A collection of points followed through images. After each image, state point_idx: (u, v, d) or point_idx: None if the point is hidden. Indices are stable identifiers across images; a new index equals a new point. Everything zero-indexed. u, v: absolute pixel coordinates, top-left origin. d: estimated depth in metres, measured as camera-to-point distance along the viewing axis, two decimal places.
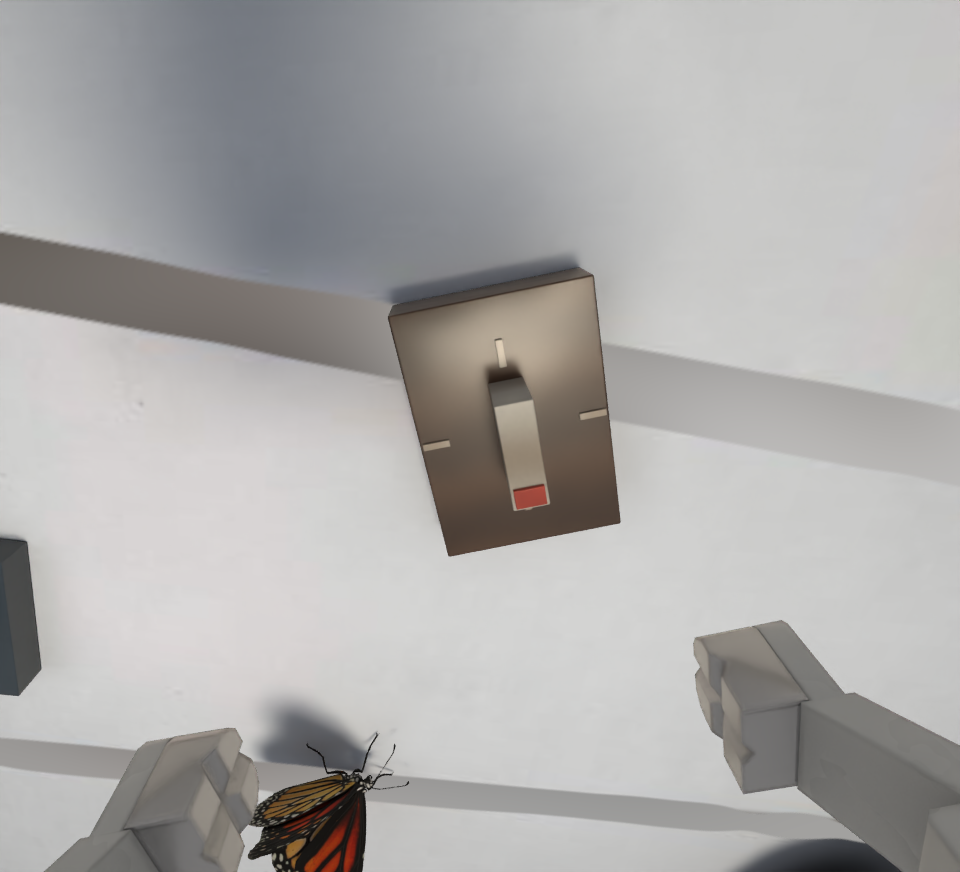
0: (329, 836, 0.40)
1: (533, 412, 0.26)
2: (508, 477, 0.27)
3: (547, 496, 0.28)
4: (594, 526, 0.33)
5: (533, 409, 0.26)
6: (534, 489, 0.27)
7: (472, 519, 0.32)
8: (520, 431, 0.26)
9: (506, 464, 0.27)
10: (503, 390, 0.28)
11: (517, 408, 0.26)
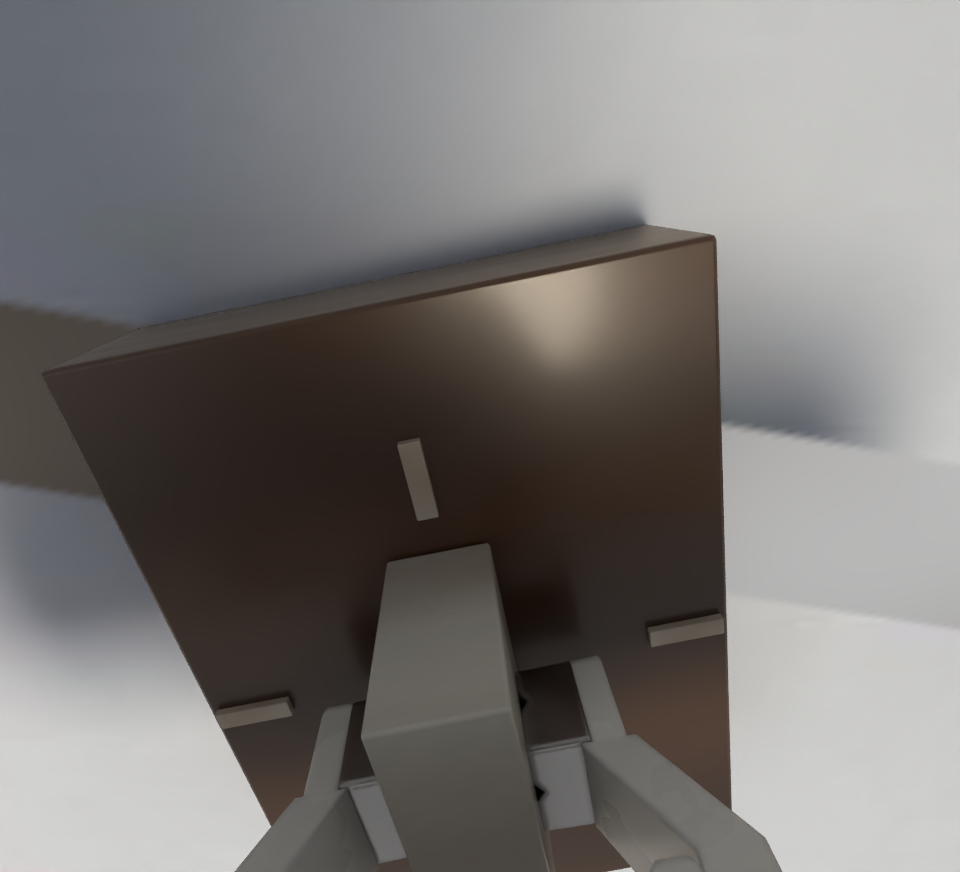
0: None
1: (513, 747, 0.07)
2: None
3: None
4: None
5: (513, 739, 0.07)
6: None
7: None
8: (467, 802, 0.07)
9: None
10: (419, 613, 0.08)
11: (451, 739, 0.07)
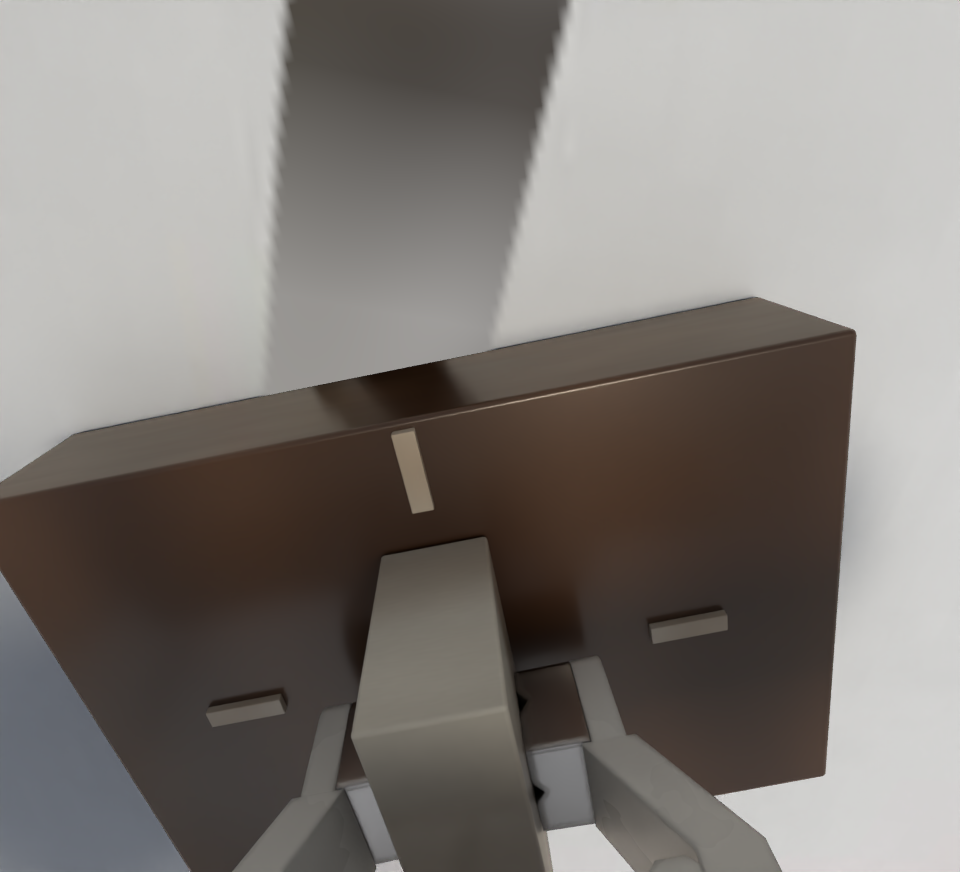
0: None
1: (509, 747, 0.07)
2: None
3: None
4: (843, 423, 0.09)
5: (509, 739, 0.07)
6: None
7: (727, 737, 0.12)
8: (461, 803, 0.07)
9: None
10: (413, 608, 0.08)
11: (444, 739, 0.07)
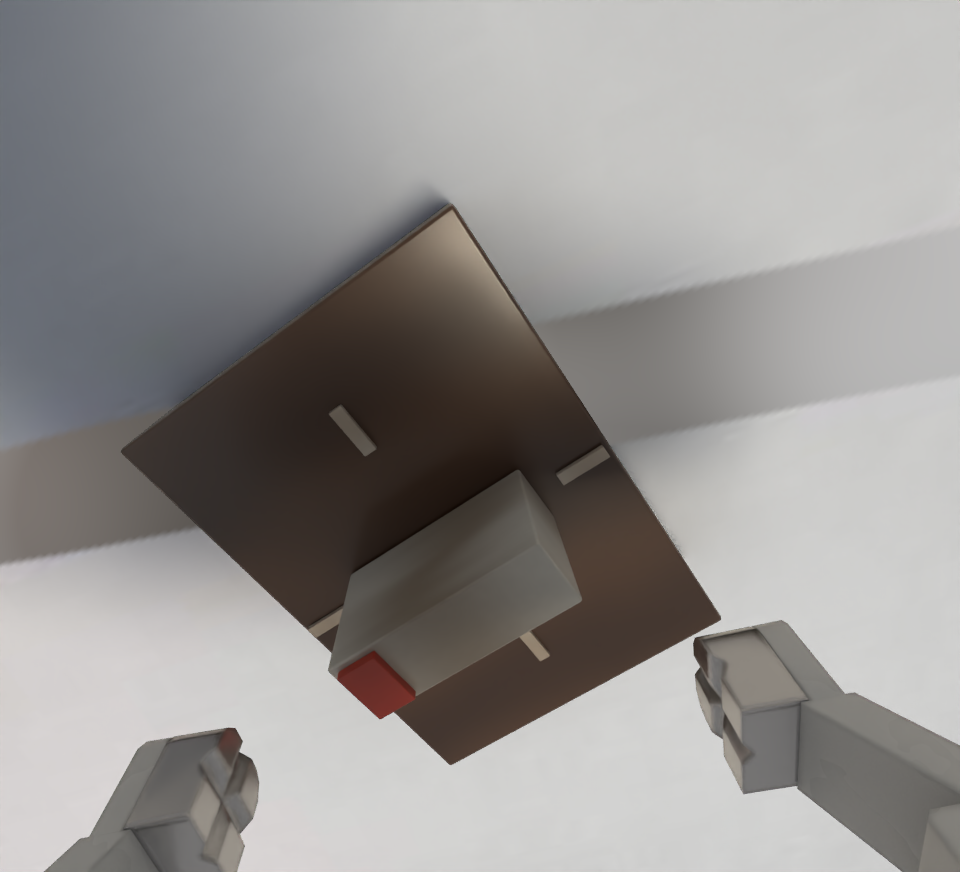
0: None
1: (556, 613, 0.12)
2: (396, 631, 0.12)
3: None
4: (676, 641, 0.18)
5: (562, 610, 0.12)
6: (399, 688, 0.13)
7: (457, 703, 0.18)
8: (507, 609, 0.12)
9: (424, 616, 0.12)
10: (540, 515, 0.14)
11: (553, 584, 0.12)
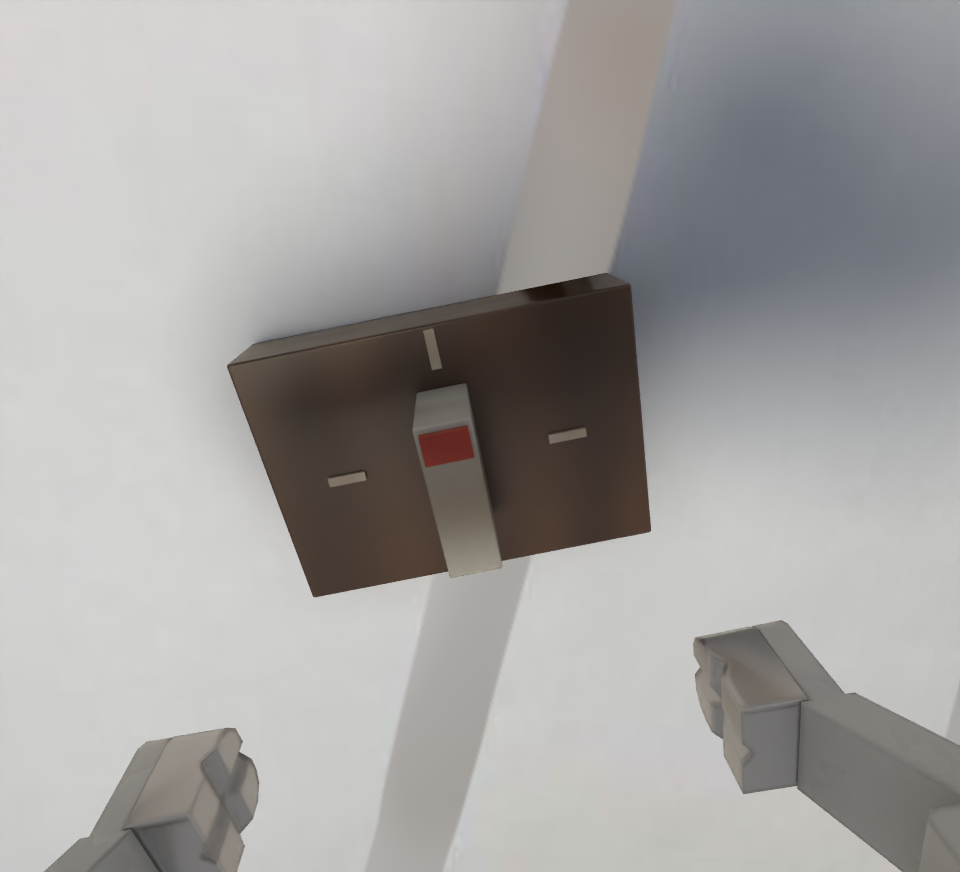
0: None
1: (448, 562, 0.19)
2: (481, 473, 0.18)
3: (418, 444, 0.17)
4: (305, 567, 0.23)
5: (448, 566, 0.19)
6: (441, 462, 0.17)
7: (303, 402, 0.20)
8: (465, 539, 0.19)
9: (484, 493, 0.18)
10: None
11: (470, 567, 0.19)
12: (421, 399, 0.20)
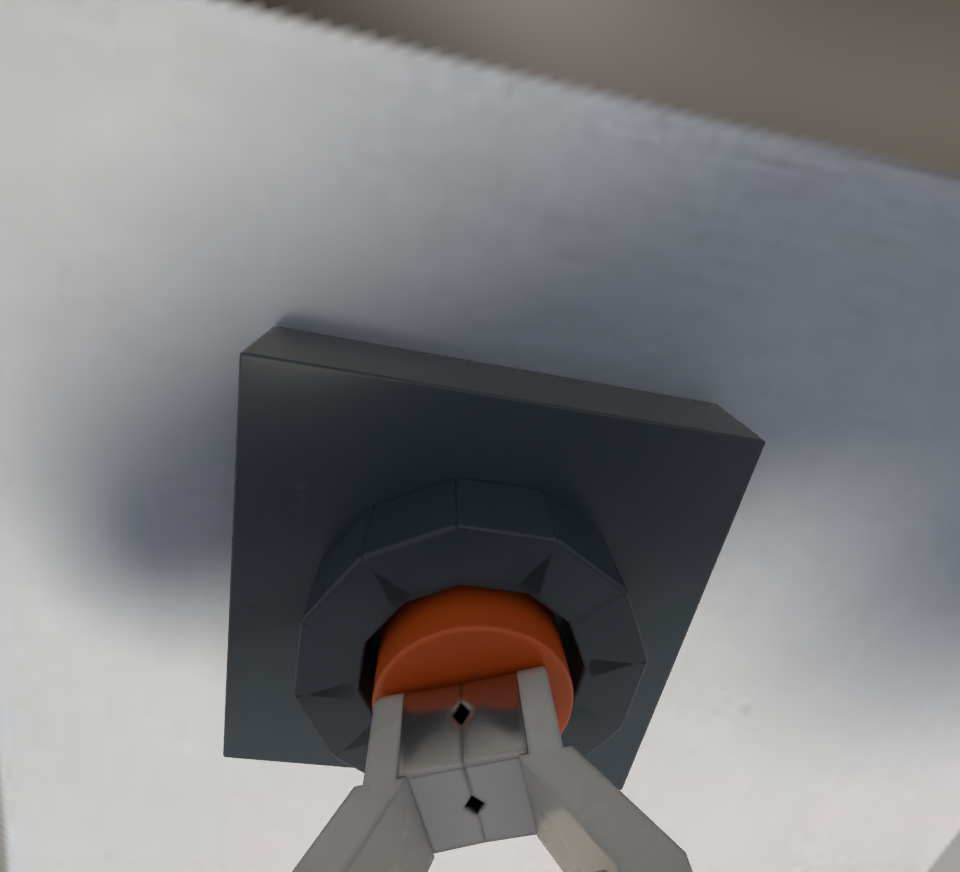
0: None
1: None
2: None
3: None
4: None
5: None
6: None
7: None
8: None
9: None
10: None
11: None
12: None
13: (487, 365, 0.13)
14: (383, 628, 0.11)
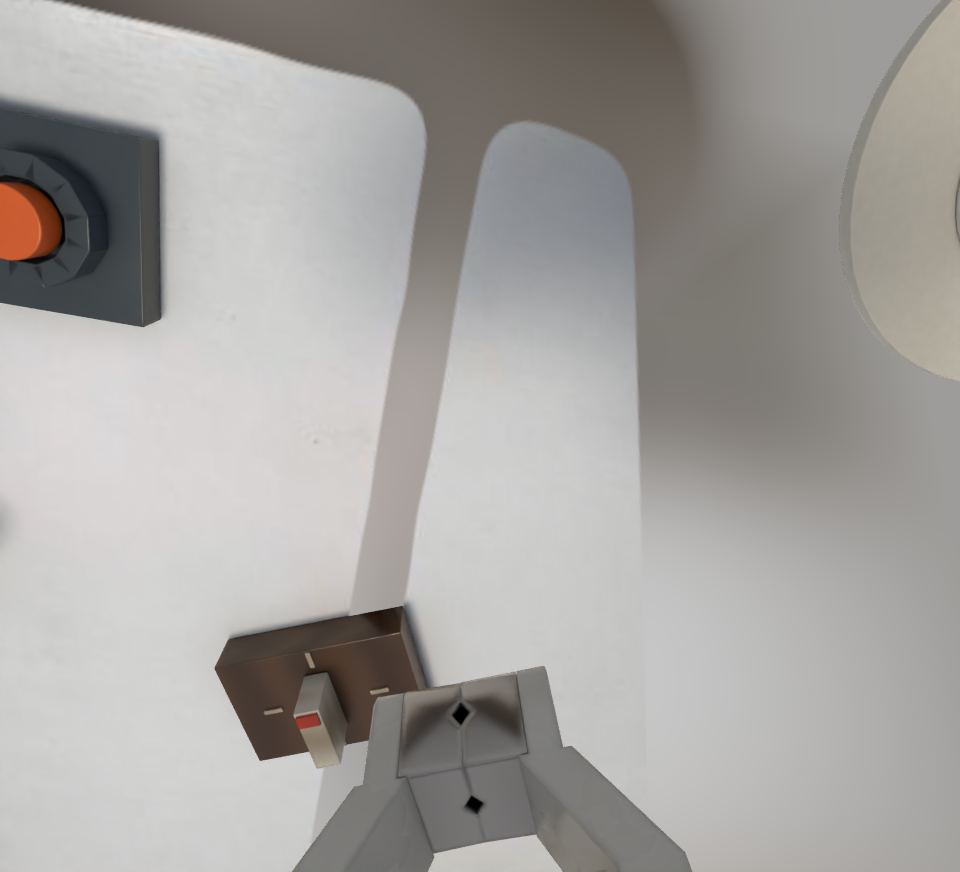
0: None
1: (315, 762, 0.42)
2: (325, 729, 0.41)
3: (296, 720, 0.40)
4: (255, 748, 0.46)
5: (315, 764, 0.42)
6: (306, 727, 0.40)
7: (250, 681, 0.43)
8: (321, 753, 0.41)
9: (328, 736, 0.41)
10: None
11: (325, 764, 0.42)
12: (304, 685, 0.42)
13: None
14: None
